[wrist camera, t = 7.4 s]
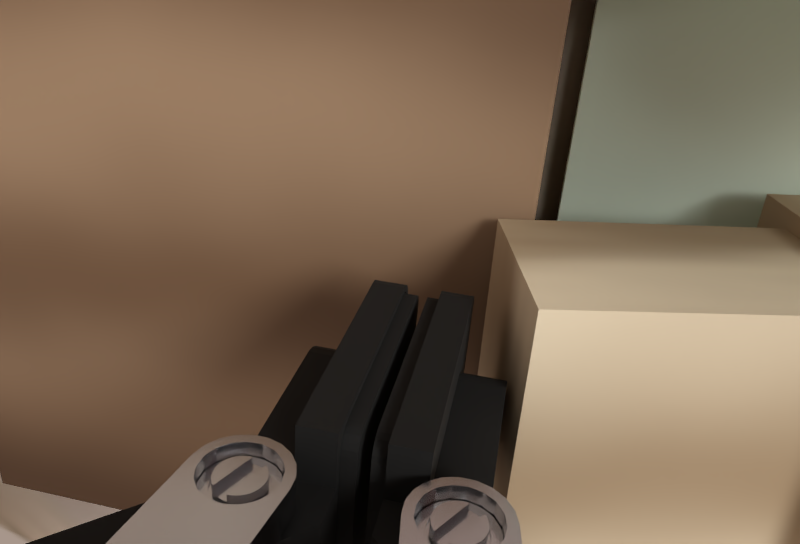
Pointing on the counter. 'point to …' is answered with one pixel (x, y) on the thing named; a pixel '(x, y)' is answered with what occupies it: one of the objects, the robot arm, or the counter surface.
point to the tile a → (647, 381)
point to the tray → (686, 113)
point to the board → (238, 205)
